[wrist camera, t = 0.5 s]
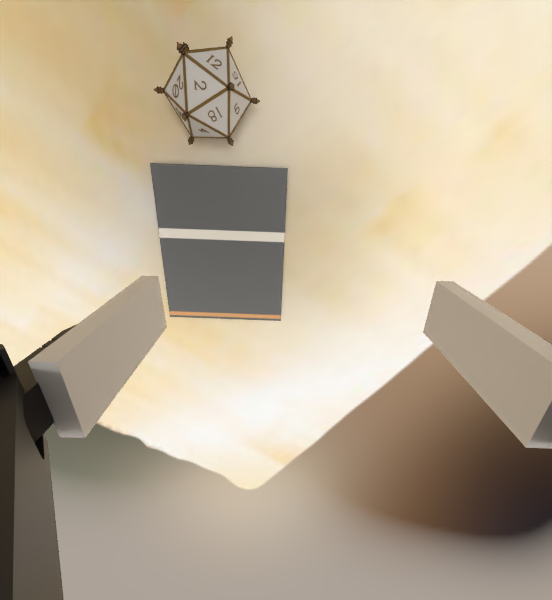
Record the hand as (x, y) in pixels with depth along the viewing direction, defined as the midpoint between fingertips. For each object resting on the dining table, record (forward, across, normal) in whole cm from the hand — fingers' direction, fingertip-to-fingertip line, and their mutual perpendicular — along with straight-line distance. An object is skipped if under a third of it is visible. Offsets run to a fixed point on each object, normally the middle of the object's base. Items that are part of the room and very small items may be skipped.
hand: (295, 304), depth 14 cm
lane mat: (+24, -8, -4) cm, 26 cm away
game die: (+25, -8, +12) cm, 29 cm away
